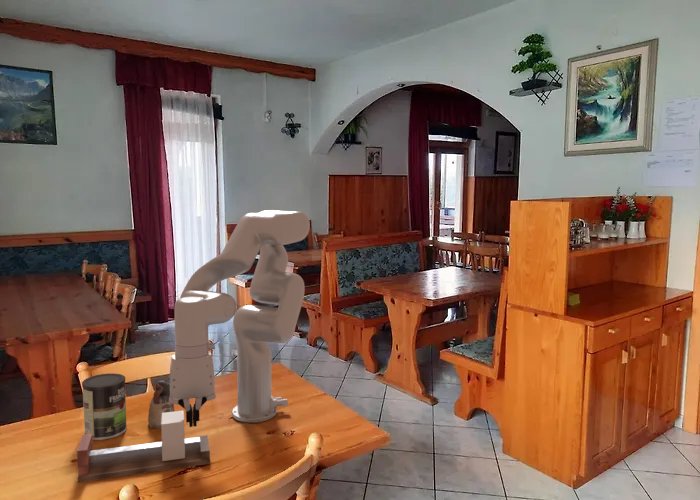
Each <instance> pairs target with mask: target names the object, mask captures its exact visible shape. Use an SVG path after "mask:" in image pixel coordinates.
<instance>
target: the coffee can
mask: <svg viewBox="0 0 700 500" xmlns="http://www.w3.org/2000/svg"><path fill="white" fill-rule="evenodd" d="M81 387H82V403H83V424H84V425H83V426H84V434H92V440H93V441H106V440H109V439H113V438H117V437H119V436H121V435H123V434H124V433H125V432H126V431H127V429H128V426H127V406H126V404H127V402H126V401H127V400H126V376H125V375H123V374H120V373H115V372H113V373H101V374H95V375H92V376H90V377H88V378H85V379H84V380H82V382H81Z"/></svg>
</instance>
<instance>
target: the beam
mask: <svg viewBox="0 0 700 500" xmlns="http://www.w3.org/2000/svg"><path fill="white" fill-rule="evenodd" d="M199 453H200V437H199V436H196V437H188V438H185V455H191V454H199ZM89 457H90V468H96V467H103V466H111V465H118V464H125V463H133V462H140V461H147V460H155V459H162V441H155V442H150V443H149V442H148V443H147V442H146V443H142V444H141V443H140V444H134V445H133V444H132V445H125V446H118V447H110V448H109V447H108V448H101V449H100V448H99V449H93V450H92V451H91V452H90V456H89Z"/></svg>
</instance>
